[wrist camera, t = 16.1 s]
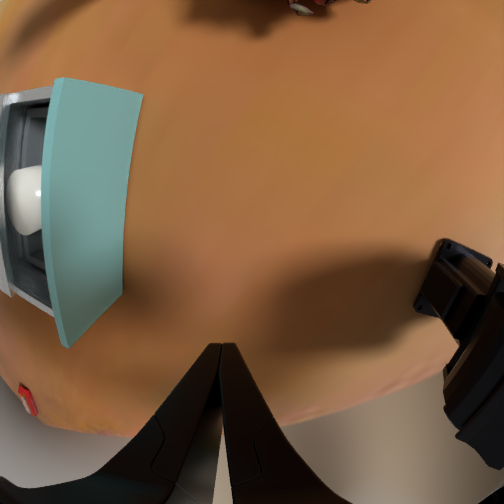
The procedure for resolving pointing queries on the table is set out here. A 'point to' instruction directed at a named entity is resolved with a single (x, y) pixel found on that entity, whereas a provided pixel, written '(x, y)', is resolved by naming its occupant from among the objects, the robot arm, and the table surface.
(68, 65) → the table surface
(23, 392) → the candy bar
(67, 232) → the drawer
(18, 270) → the dock
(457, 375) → the robot arm
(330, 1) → the dragon fruit
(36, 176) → the grey rounded tapered piece
